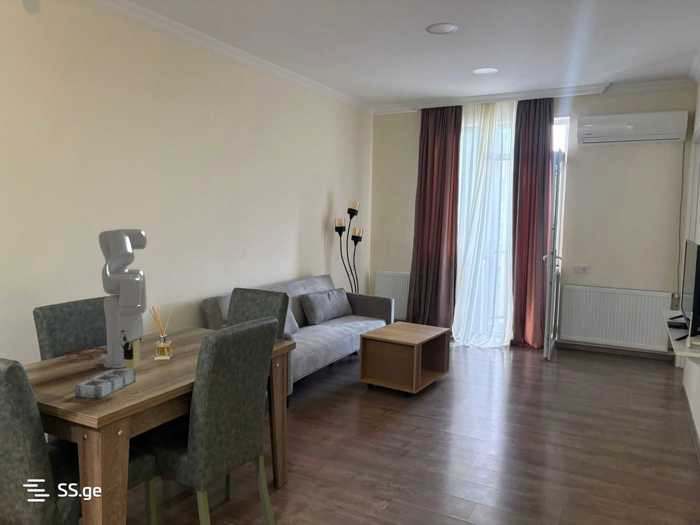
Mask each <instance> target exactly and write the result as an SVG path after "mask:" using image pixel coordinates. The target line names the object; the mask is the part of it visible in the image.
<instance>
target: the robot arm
mask: <svg viewBox="0 0 700 525" xmlns="http://www.w3.org/2000/svg"><path fill="white" fill-rule="evenodd" d="M147 243H148V240H147V234H146V232H145V231H144V230H143V229H141V228H118V229H114V230H113V229H112V230H104V231H101V232H100V233H99V235H98V244H99V246H100V250H101V252H102V254H103V257H104V260H105V263H104V265H103V268H102V270H101V280H102V281H101V282H102V287H103V291H104V292H105V294H107V295H108V296H106V297H104V300H103V309H104V314H105V325H106V326H105V327H106V351H107V352H106V353H107V354H103V353H102V354H101V355H100V357H99V359H100V361H105V362H103V367H104V368H107V369H123V368H125V367H124V359H125V360H132V349H131V343H132V341H133V340H136V339H139V342H140V343H141V341H142V338H143V337H144V320H143V314H145V313H146V310H147V288H146V284H147V283H146V276H145V273H144V271H143V270H142V269H138V268H137V269H135V268H133V269H128V266H130V265H132V263H133V262H134V261H135V252H134V250H144V249H146V248H147ZM126 340H127V341H126ZM126 343H128V344H126Z"/></svg>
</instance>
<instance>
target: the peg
mask: <svg viewBox="0 0 700 525" xmlns="http://www.w3.org/2000/svg"><path fill="white" fill-rule="evenodd" d="M126 341H127V340H126ZM126 344H128V343H126ZM140 346H141V341H140V342H139V339H136V340H133V341H132V343H131V349H132V360H125V359H124V367H123V368H132V369H134V368H137V367H138V366H141V352H140V351H141V350H140V349H141V348H140Z"/></svg>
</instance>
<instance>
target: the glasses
mask: <svg viewBox="0 0 700 525" xmlns="http://www.w3.org/2000/svg"><path fill="white" fill-rule="evenodd" d="M80 347H81V349H80ZM84 348H88V349H93V350H101V351H104V352H105V353H107V349H105V348H103V347H94V346H93V347H92V346H88V345H85V344H84V343H80V344H79V345H78V346H77V347H75V348H74V347H70V348H69V349H68V352H67V353H66V355H67V356H70V355H72V356H74V355H77V356H81V357H83V356H88V357H89V358H90V359H92V358H94V357H93V356H92V355H91V354H88V353H83V354H82V352H83V350H84ZM71 350H72V351H71ZM76 350H77V351H76ZM75 351H76V352H75ZM80 352H81V353H80Z"/></svg>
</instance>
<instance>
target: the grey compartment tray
mask: <svg viewBox="0 0 700 525" xmlns="http://www.w3.org/2000/svg"><path fill="white" fill-rule="evenodd" d="M133 383H136V370H134V369H133V370H132V369H123V368H110V369H109V370H107V371H105V372H103V373H100V374H99V375H95V376H93V377H91V378H89V379H86V380H85V381H82V382H79V383H78V384H75V385H74V397H77V398H76V399H86V398H89V400H98V399H100V400H102V399H104V398H105V396H106V397H108V396H110V395H112V394H114V393H116V392H118V391H120V390H122V389H123V388H125V387H127V386H129V385H132V384H133ZM121 388H122V389H121ZM119 389H120V390H119ZM117 390H118V391H117ZM115 391H116V392H115ZM113 392H114V393H113ZM111 393H112V394H111ZM109 394H110V395H109ZM107 395H108V396H107ZM103 397H104V398H103ZM101 398H102V399H101Z"/></svg>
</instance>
